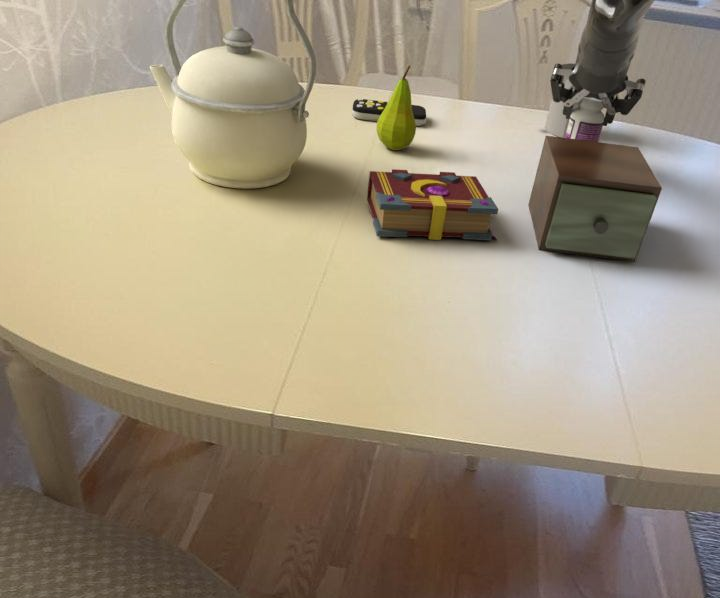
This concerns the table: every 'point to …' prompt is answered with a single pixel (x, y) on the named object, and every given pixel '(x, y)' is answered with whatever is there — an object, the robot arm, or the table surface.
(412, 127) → the fruit
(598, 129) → the pill bottle
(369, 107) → the remote control
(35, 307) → the table surface
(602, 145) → the cabinet
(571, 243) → the drawer
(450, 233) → the decorative book
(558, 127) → the cup
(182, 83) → the kettle
